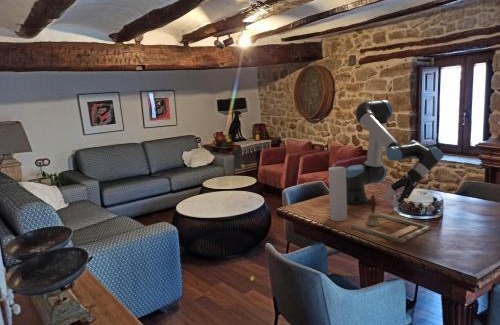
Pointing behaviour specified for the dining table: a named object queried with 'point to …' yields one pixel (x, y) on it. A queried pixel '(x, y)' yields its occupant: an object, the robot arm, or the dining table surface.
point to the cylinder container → (337, 193)
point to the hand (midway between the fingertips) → (388, 202)
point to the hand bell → (373, 215)
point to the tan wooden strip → (404, 231)
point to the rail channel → (400, 240)
